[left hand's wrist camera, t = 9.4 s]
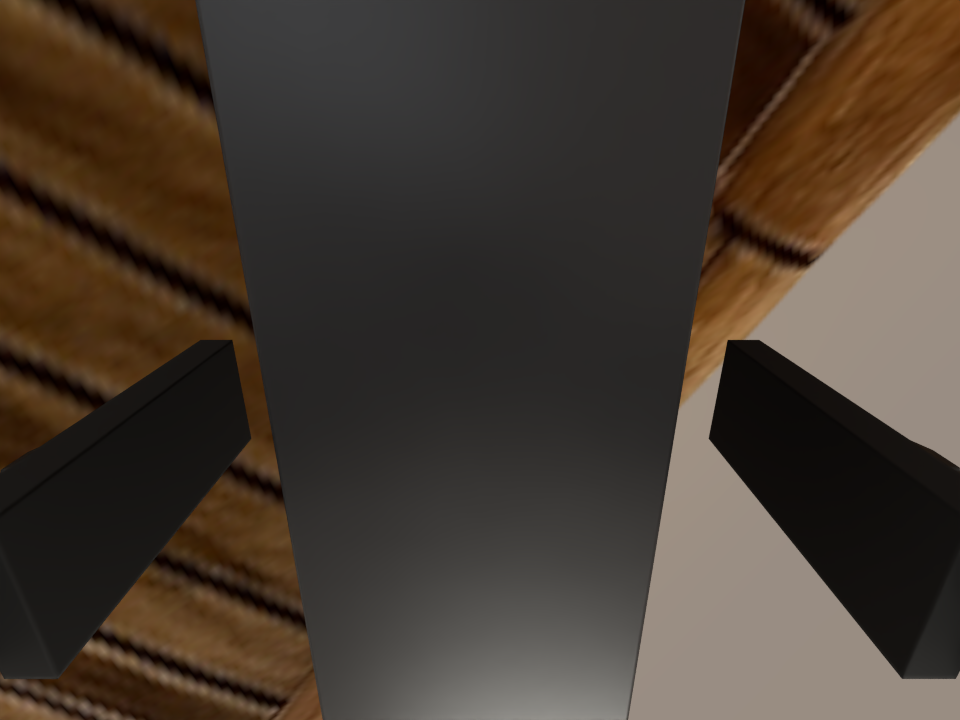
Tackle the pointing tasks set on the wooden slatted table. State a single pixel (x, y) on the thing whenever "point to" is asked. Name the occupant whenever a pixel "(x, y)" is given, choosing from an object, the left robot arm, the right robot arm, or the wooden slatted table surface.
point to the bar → (472, 325)
